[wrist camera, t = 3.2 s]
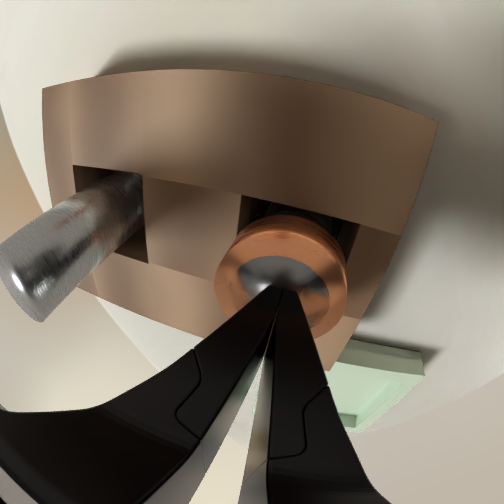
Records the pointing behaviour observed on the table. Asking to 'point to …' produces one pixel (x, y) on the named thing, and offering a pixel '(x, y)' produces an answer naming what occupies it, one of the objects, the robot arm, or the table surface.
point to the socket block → (233, 178)
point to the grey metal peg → (70, 242)
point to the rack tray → (370, 381)
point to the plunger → (286, 265)
